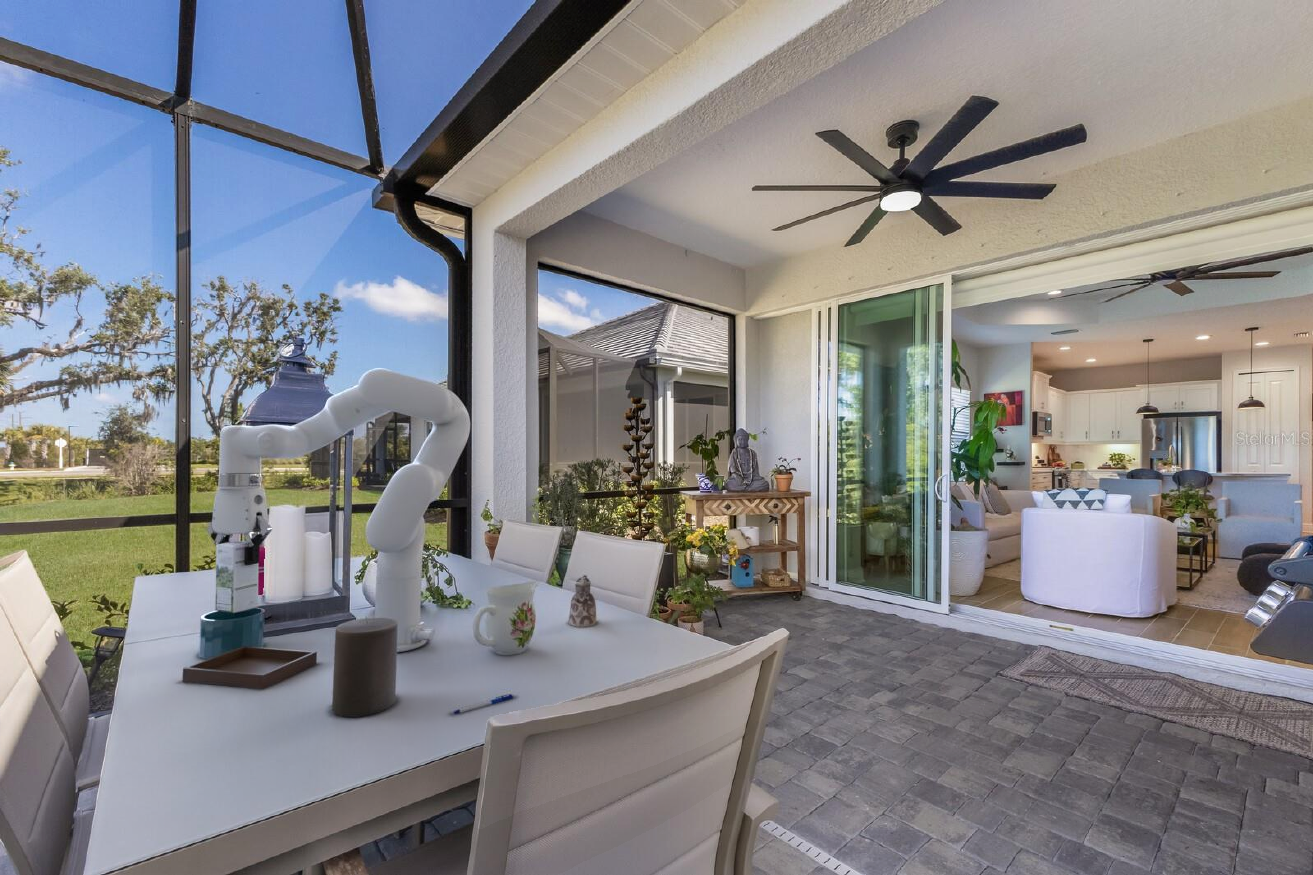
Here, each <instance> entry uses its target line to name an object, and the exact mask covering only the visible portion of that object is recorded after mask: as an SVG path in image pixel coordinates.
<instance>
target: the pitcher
mask: <svg viewBox="0 0 1313 875" xmlns="http://www.w3.org/2000/svg"><path fill="white" fill-rule="evenodd" d="M539 584H540V582H539V581H527V582H522V583H513V584H505V585H501V586H496V587H493V588H490V589H488V590H487V593H486V594H487V598H488V605H485V606H481V607H480V608H479V609H478V610H477V611H476V613H475V615H474V618H473V623H472V630H473V631H472V632H473V637H474V639H475V641H476V642H477V643H478V644H480V645H481V646H484V647H491V649H492V650H493V651H494V653H495V654H498V655H501V656H511V655H518V654H521V653H523V652H525V651H526V649H527V647H528V646H529V645H530V642H531V641H532V638H533V635H534V631H535V628H536V621H537V620H536V618H537V613H536V607H535V604H534V596H535V591H536V588H537V587H538V586H539ZM484 614H485V617H484V627H485V635H486V638H487V639H486V638H484V637H483V636H482V634H481V631H480V623H481V621H482V620H481V619H482V617H483V615H484Z"/></svg>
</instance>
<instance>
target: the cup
mask: <svg viewBox="0 0 1313 875" xmlns="http://www.w3.org/2000/svg"><path fill="white" fill-rule="evenodd" d="M265 620H266V619H265V610H264V609H263V608H259V607H256V608H252V609H249V610H245V611H240V612H235V613H231V612H222V611H216V610H214V611H210V612H207V613H204V614H202V615H201V616H200V618H199V637H198V638H199V639H198V657H199V658H201V659H203V660H207V659H210V658H213V657H216V656H218V655H221V654H224V653H227V652H229V651H232V650H235V649H238V648H240V647H243V646H250V647H263V648H264V641H265V639H264V637H265Z"/></svg>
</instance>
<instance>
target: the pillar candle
mask: <svg viewBox="0 0 1313 875" xmlns="http://www.w3.org/2000/svg"><path fill="white" fill-rule="evenodd" d="M397 625H398V623H397V620H395V619H389V618H375V617H367V616H365V618H357V619H353V620H349V621H345V622H343V623H340V624H338V625H337V626H336V627H335V636H334V657H333V674H332V675H333V677H332V678H333V680H332V702H331V708H332V709H331V710H332V712H333V714H334V715H336V716H339V717H345V718H347V717H352V718H353V717H354V718H358V717H362V718H363V717H367V716H371V715H375V714H377V713H380V712H383V711H385V710H387V709H389V708H391V707H392V706H393V705H394V703H395V702H396V692H397V690H396V687H397V657H398V656H397V655H398V652H397Z"/></svg>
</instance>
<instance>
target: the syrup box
mask: <svg viewBox="0 0 1313 875" xmlns="http://www.w3.org/2000/svg"><path fill="white" fill-rule="evenodd" d="M245 547H248V545H247V542H246V540H245V541H243V540H237V541H230V542H227V543H222V544H218V545H217V546H215V548H216V549H215V550H216V551H215V609H214V611H222V612H231V613H235V612H240V611H245V610H249V609H252V608H256V607H258V566H259V563H257V564H252V565H245V564H244V560H245Z"/></svg>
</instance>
